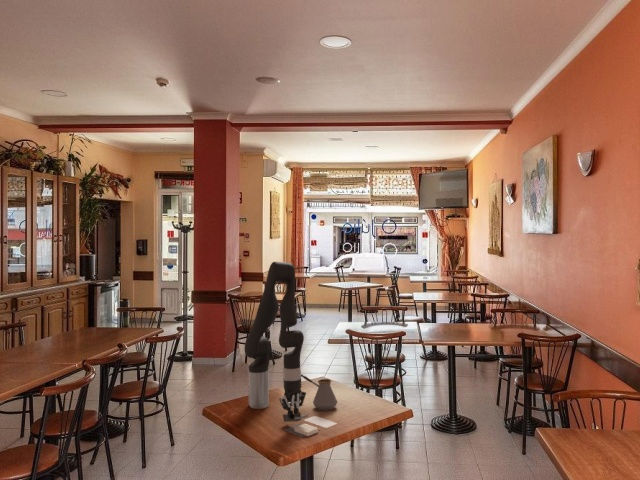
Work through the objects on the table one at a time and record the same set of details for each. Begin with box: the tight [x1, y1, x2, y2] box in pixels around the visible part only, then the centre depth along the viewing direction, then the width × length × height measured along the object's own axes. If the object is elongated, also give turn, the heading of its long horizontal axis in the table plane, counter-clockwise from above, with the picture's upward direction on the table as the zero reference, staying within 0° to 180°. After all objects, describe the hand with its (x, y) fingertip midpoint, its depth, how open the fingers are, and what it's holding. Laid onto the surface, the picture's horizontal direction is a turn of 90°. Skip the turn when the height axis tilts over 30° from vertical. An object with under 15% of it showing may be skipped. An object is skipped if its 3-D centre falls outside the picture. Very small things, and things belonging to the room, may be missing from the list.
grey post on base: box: [282, 412, 309, 423], centre depth 219 cm, size 13×4×3 cm, turn 44°
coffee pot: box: [301, 373, 338, 411], centre depth 247 cm, size 21×12×15 cm, turn 59°
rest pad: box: [304, 415, 338, 429], centre depth 225 cm, size 14×7×1 cm, turn 44°
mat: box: [283, 423, 321, 438], centre depth 216 cm, size 12×10×1 cm
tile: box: [294, 423, 319, 437], centre depth 214 cm, size 2×6×8 cm
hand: (293, 417), depth 220 cm, fingers closed on grey post on base, 2 cm apart
